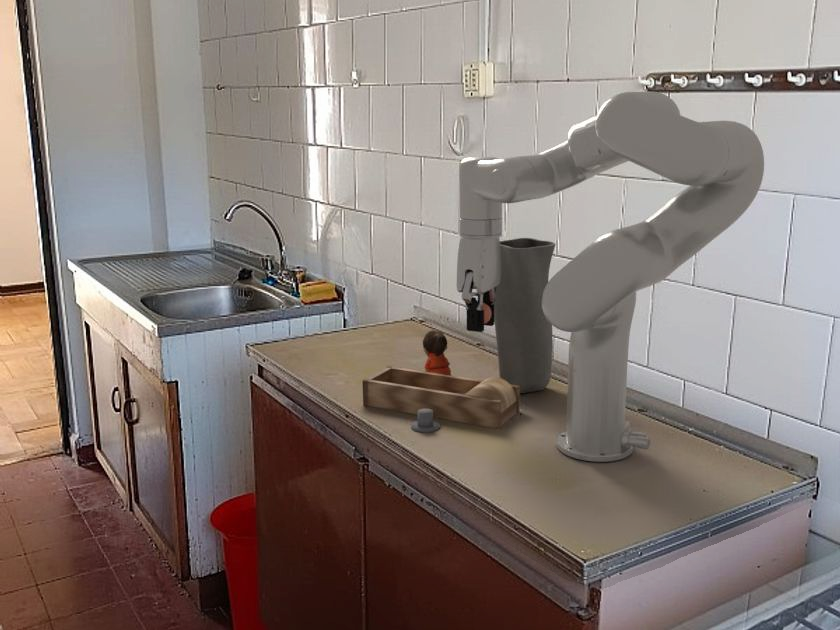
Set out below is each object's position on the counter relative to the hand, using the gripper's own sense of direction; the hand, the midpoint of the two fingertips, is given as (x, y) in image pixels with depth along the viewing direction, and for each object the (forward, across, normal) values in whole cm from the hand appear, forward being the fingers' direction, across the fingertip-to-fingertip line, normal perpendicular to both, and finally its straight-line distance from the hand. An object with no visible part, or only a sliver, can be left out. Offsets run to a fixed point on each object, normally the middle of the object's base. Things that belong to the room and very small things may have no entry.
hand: (480, 326), depth 157 cm
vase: (+17, -17, +2) cm, 24 cm away
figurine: (+17, -11, -14) cm, 25 cm away
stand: (+17, +10, -7) cm, 21 cm away
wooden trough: (+19, 0, -9) cm, 20 cm away
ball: (-3, 0, 0) cm, 3 cm away
